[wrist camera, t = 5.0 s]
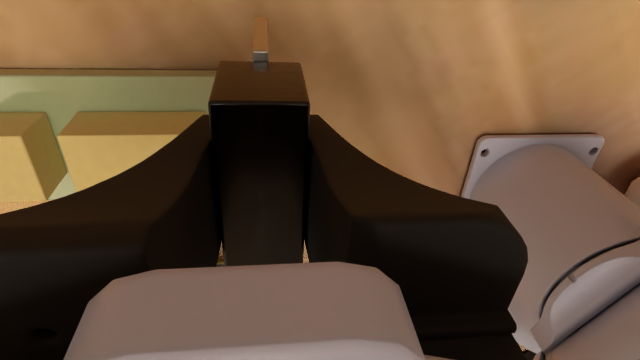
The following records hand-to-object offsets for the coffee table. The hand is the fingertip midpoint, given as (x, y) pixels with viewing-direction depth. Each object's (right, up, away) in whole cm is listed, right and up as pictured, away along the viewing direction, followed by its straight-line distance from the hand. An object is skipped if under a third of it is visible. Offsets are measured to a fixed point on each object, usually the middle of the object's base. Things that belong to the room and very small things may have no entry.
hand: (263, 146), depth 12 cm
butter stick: (-7, +1, +9) cm, 12 cm away
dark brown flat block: (0, +2, +3) cm, 3 cm away
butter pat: (-13, +1, +9) cm, 15 cm away
